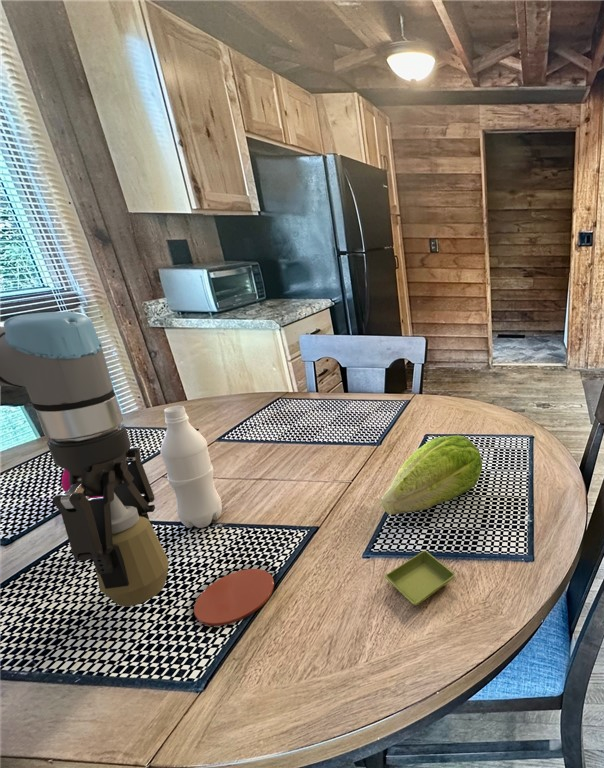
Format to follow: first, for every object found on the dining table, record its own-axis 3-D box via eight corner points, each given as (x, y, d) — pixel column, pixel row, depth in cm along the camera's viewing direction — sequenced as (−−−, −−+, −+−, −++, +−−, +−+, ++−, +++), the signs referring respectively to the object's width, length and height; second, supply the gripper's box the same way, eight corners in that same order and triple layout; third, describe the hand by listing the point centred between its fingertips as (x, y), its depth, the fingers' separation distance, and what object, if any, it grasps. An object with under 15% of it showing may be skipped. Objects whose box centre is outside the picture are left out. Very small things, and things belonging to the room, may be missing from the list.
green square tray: (456, 584, 72) (456, 574, 71) (414, 615, 66) (414, 605, 65) (425, 558, 77) (425, 549, 77) (384, 585, 71) (383, 575, 70)
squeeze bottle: (115, 624, 59) (75, 519, 53) (99, 596, 64) (61, 496, 58) (182, 588, 66) (153, 491, 60) (164, 565, 70) (135, 472, 64)
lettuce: (356, 478, 90) (382, 474, 79) (444, 430, 106) (476, 421, 94) (385, 536, 91) (415, 540, 79) (468, 480, 107) (502, 477, 95)
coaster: (186, 598, 67) (185, 595, 67) (259, 561, 75) (259, 559, 75) (206, 640, 61) (205, 637, 61) (285, 595, 69) (284, 592, 68)
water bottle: (188, 513, 87) (158, 403, 79) (228, 507, 90) (202, 399, 81) (176, 535, 81) (141, 418, 73) (219, 527, 83) (190, 413, 75)
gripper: (101, 404, 63) (141, 528, 71) (-17, 470, 46) (53, 626, 53) (158, 401, 65) (191, 523, 73) (66, 464, 47) (122, 616, 55)
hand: (133, 566), depth 63 cm, fingers closed on squeeze bottle, 6 cm apart
